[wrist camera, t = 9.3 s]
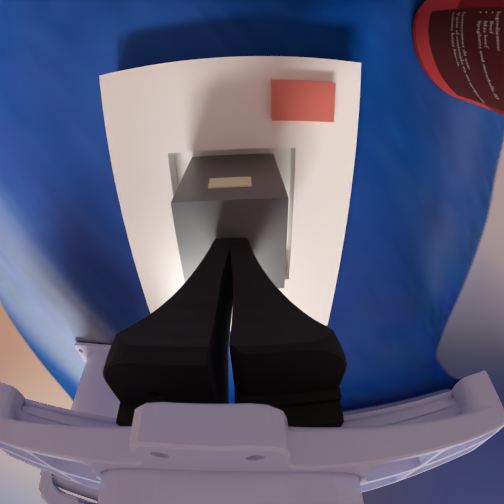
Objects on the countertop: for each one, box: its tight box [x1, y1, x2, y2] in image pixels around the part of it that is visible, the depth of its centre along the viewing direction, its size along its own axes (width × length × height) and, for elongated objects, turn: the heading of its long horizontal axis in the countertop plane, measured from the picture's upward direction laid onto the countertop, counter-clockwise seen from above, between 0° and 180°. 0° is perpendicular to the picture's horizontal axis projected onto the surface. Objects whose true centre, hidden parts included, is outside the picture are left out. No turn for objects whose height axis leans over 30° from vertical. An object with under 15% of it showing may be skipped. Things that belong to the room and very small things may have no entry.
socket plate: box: [99, 56, 361, 331], centre depth 18 cm, size 18×13×3 cm
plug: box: [171, 153, 289, 288], centre depth 16 cm, size 7×4×6 cm
